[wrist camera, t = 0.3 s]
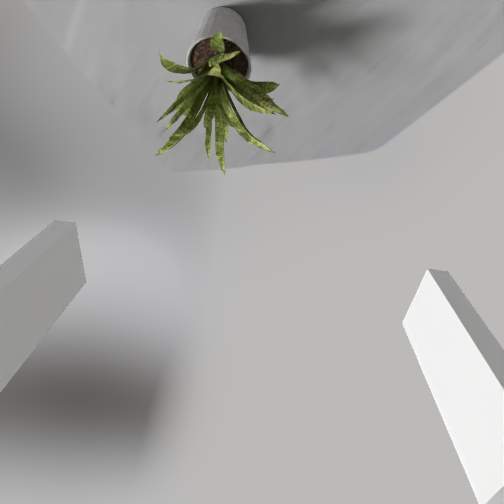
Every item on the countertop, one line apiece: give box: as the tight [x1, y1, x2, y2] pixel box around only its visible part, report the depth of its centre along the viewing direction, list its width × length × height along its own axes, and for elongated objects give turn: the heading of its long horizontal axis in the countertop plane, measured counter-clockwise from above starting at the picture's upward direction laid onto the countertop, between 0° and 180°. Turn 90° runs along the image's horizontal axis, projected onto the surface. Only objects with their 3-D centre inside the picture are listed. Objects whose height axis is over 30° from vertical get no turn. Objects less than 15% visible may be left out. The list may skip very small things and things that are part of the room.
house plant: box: [156, 7, 290, 174], centre depth 38 cm, size 14×14×16 cm
